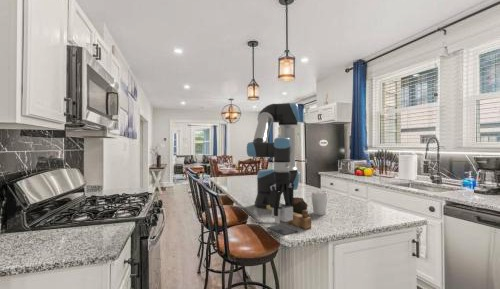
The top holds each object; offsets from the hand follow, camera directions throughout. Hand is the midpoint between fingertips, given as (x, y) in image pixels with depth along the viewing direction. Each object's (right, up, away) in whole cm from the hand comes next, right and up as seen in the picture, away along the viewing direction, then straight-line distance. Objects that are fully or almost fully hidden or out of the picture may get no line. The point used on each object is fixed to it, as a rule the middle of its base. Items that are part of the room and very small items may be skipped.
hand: (282, 221), depth 121 cm
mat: (0, -4, 0) cm, 4 cm away
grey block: (0, +1, 0) cm, 1 cm away
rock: (+11, -4, +24) cm, 27 cm away
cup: (+25, -4, +29) cm, 38 cm away
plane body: (+7, -4, +9) cm, 12 cm away
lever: (-2, +2, +16) cm, 16 cm away
